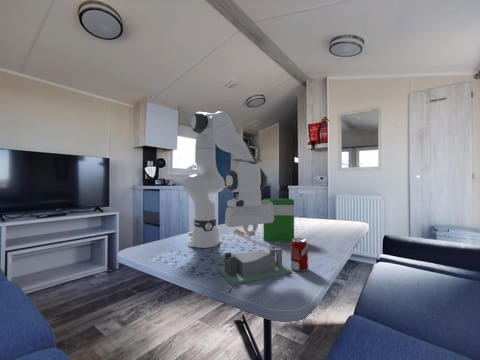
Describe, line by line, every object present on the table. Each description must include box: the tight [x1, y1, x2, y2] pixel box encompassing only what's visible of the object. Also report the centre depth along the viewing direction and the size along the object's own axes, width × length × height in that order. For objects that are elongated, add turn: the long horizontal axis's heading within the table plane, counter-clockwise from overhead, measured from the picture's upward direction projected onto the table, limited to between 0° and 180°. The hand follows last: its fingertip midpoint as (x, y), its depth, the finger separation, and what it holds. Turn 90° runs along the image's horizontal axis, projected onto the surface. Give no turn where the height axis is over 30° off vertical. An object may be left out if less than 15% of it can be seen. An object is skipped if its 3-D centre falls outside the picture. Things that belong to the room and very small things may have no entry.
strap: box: [232, 228, 277, 253], centre depth 96 cm, size 3×22×2 cm, turn 115°
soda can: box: [290, 237, 309, 273], centre depth 97 cm, size 7×7×12 cm
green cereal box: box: [262, 198, 295, 242], centre depth 143 cm, size 18×7×24 cm, turn 83°
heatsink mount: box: [216, 245, 293, 286], centre depth 96 cm, size 16×25×8 cm, turn 115°
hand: (250, 236), depth 94 cm, fingers closed
